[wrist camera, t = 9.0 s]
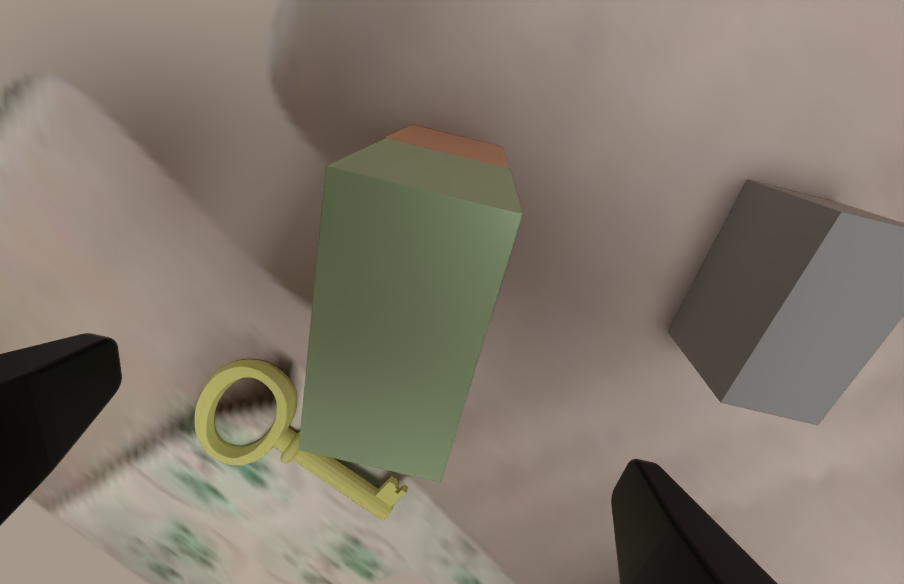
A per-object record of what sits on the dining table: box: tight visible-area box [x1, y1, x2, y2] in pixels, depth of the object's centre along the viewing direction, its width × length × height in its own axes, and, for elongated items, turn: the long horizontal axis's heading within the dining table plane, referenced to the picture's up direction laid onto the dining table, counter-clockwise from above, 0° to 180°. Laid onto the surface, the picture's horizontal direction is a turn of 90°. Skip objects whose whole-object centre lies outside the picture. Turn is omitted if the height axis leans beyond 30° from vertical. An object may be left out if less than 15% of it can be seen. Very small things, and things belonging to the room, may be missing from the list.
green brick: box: [298, 138, 522, 482], centre depth 11 cm, size 7×4×5 cm, turn 167°
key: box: [195, 359, 408, 520], centre depth 23 cm, size 7×12×2 cm, turn 72°
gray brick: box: [668, 180, 904, 425], centre depth 16 cm, size 7×4×5 cm, turn 167°
